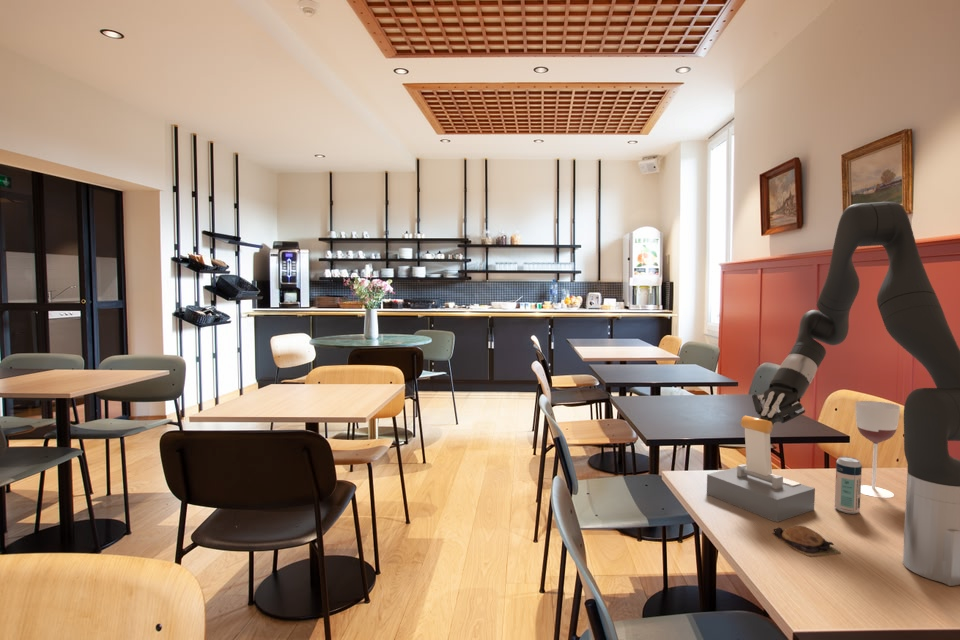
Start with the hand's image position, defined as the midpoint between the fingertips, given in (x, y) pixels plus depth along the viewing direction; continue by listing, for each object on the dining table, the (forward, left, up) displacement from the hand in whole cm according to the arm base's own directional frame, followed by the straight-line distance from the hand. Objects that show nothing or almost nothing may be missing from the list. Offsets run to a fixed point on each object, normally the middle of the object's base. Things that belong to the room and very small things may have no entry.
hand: (760, 432), depth 126 cm
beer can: (-9, -16, -17) cm, 25 cm away
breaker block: (0, 0, -17) cm, 17 cm away
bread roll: (-20, +6, -18) cm, 27 cm away
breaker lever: (0, 0, -10) cm, 10 cm away
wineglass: (-1, -33, -17) cm, 37 cm away
